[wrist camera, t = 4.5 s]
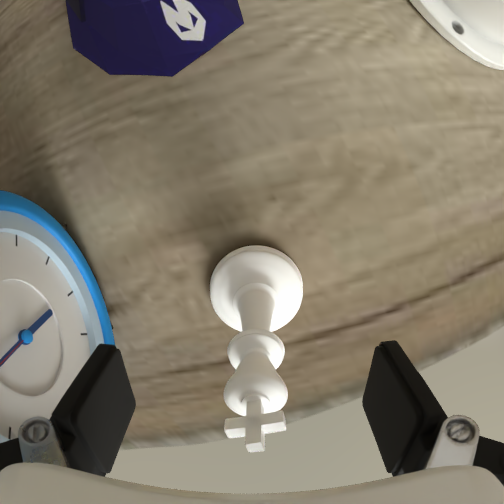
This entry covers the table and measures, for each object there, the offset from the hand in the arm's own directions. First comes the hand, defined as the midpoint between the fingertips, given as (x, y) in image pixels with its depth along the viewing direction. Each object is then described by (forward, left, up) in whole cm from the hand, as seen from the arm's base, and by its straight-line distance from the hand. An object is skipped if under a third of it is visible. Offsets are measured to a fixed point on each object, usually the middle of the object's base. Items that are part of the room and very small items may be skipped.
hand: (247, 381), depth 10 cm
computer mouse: (+7, -18, -7) cm, 21 cm away
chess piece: (0, 0, -7) cm, 7 cm away
